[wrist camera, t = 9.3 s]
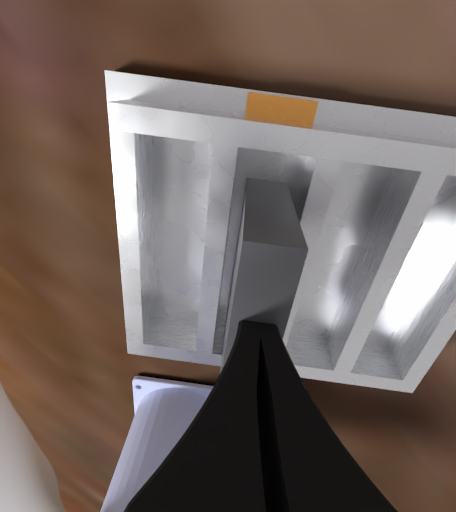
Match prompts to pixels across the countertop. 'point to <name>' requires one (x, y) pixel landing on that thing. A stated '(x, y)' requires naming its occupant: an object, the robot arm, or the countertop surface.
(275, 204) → the panel
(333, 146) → the rack
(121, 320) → the countertop surface
